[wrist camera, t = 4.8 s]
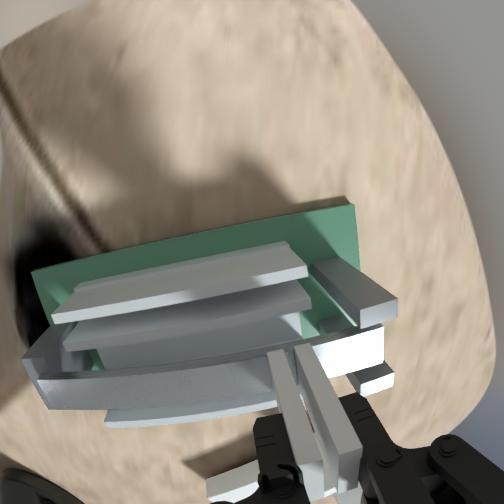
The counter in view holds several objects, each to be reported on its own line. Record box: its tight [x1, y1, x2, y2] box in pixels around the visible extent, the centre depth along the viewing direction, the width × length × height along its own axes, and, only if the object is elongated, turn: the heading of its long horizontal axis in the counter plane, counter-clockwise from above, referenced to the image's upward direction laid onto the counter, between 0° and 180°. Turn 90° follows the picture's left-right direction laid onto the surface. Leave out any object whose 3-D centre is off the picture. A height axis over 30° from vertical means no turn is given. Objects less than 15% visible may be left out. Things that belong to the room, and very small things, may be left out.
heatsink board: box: [21, 203, 398, 428], centre depth 17 cm, size 23×12×8 cm, turn 100°
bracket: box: [206, 432, 363, 504], centre depth 23 cm, size 13×7×8 cm, turn 121°
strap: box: [37, 323, 384, 410], centre depth 15 cm, size 19×2×1 cm, turn 100°
